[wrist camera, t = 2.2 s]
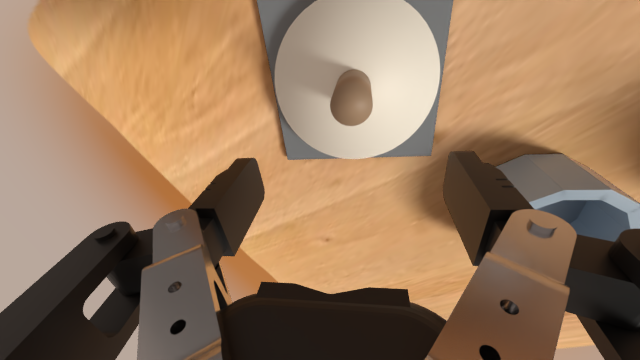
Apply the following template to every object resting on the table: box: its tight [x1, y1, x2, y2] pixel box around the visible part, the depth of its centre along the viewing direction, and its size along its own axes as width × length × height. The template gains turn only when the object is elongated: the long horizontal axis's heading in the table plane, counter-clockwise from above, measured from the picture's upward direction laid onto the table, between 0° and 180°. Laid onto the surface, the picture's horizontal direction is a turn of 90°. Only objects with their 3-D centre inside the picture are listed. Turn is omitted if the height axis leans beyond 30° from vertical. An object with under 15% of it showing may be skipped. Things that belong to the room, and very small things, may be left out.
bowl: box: [496, 154, 640, 242], centre depth 26 cm, size 12×12×6 cm
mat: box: [257, 0, 453, 160], centre depth 24 cm, size 15×15×1 cm
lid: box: [275, 0, 440, 159], centre depth 21 cm, size 14×14×6 cm
